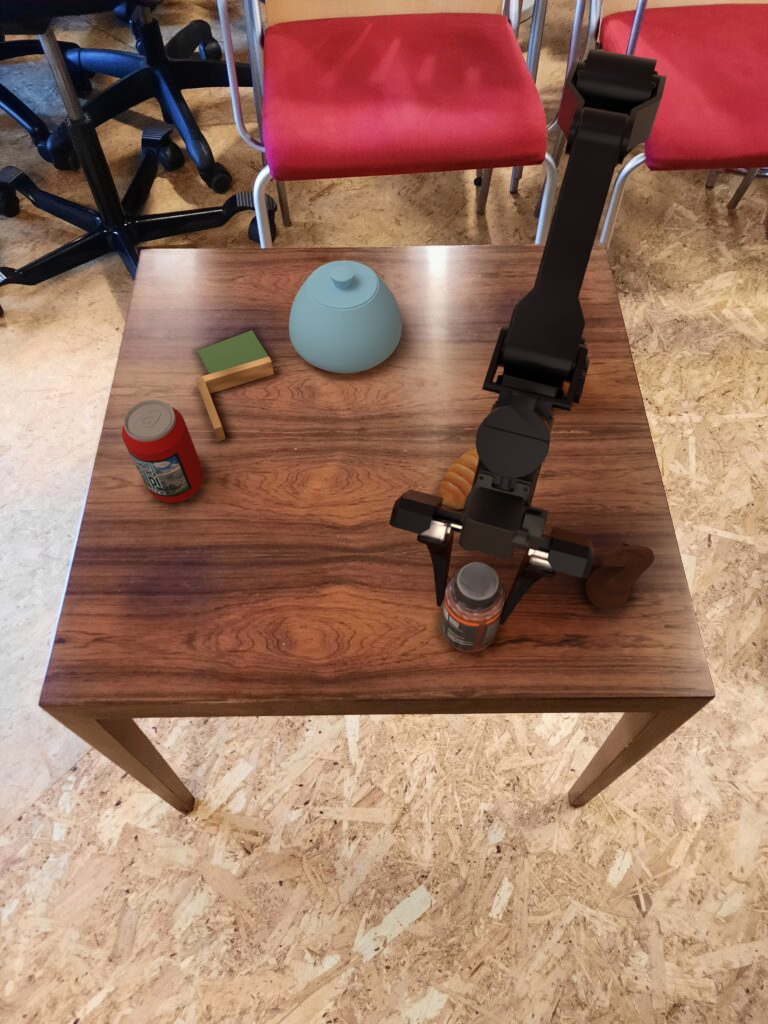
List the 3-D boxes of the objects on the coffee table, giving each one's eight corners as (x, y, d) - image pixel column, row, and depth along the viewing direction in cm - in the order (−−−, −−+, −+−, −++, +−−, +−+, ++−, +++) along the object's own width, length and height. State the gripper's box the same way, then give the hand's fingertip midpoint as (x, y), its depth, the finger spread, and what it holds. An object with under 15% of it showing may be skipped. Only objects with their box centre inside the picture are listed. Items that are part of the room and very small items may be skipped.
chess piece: (582, 571, 81) (605, 526, 73) (628, 572, 81) (657, 527, 73) (587, 609, 79) (612, 567, 70) (635, 610, 79) (665, 568, 70)
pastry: (461, 526, 84) (464, 509, 81) (423, 488, 87) (424, 470, 84) (520, 484, 87) (525, 465, 84) (481, 448, 90) (484, 429, 87)
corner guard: (271, 369, 97) (269, 356, 95) (293, 417, 93) (291, 404, 91) (199, 391, 95) (195, 378, 93) (218, 441, 91) (214, 429, 89)
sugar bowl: (311, 292, 104) (303, 222, 95) (413, 312, 102) (416, 243, 92) (275, 368, 97) (262, 301, 87) (384, 391, 95) (384, 325, 85)
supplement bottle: (500, 609, 79) (516, 560, 69) (490, 660, 76) (505, 616, 66) (445, 596, 80) (453, 546, 70) (434, 647, 77) (441, 601, 67)
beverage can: (137, 495, 87) (103, 433, 76) (167, 452, 90) (138, 387, 80) (187, 513, 85) (160, 452, 75) (215, 469, 89) (193, 405, 78)
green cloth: (252, 331, 100) (252, 329, 100) (270, 360, 98) (269, 358, 97) (197, 352, 99) (196, 350, 98) (213, 382, 96) (213, 380, 96)
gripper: (395, 446, 61) (358, 615, 65) (620, 502, 58) (566, 677, 62) (419, 432, 72) (385, 579, 76) (609, 479, 69) (564, 630, 73)
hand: (469, 614), depth 71 cm, fingers closed on supplement bottle, 6 cm apart
